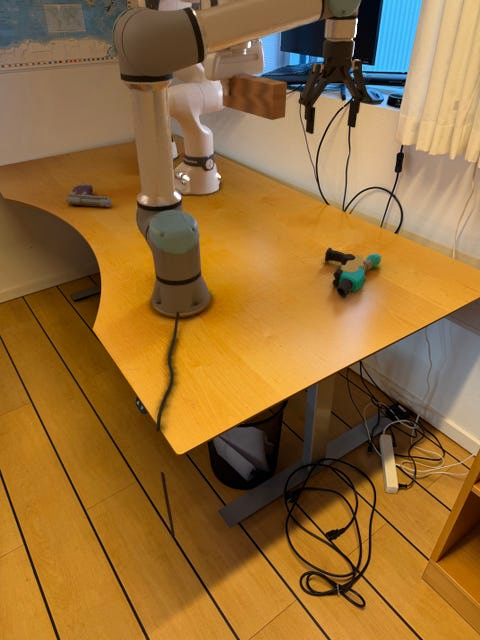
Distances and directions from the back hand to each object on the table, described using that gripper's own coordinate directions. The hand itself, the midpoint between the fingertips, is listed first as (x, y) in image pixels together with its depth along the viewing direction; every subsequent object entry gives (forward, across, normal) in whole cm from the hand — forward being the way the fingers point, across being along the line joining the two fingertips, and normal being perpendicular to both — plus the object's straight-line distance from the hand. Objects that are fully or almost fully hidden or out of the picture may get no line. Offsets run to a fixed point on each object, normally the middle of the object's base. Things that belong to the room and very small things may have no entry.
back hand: (235, 93), depth 142 cm
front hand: (+5, -7, +32) cm, 33 cm away
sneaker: (+42, -13, -71) cm, 84 cm away
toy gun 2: (+40, +2, +50) cm, 64 cm away
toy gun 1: (+42, +30, -50) cm, 72 cm away
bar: (+4, 0, +8) cm, 9 cm away
